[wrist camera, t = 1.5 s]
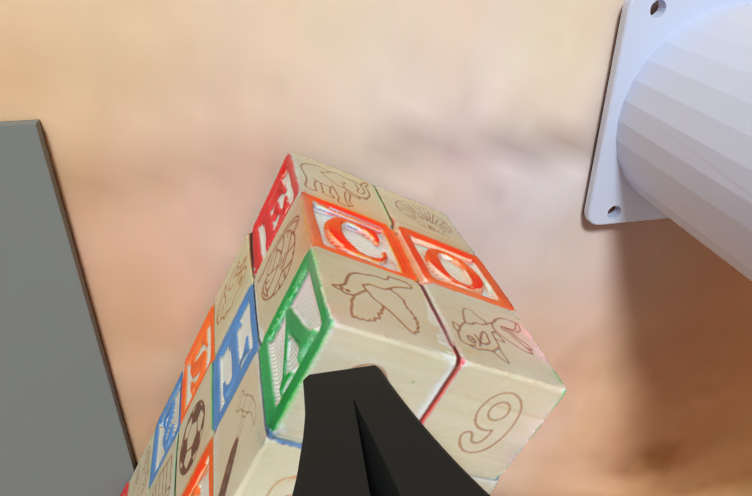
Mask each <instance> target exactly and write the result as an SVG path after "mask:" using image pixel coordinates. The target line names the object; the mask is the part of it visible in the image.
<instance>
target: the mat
mask: <svg viewBox="0 0 752 496" xmlns="http://www.w3.org/2000/svg"><path fill="white" fill-rule="evenodd" d="M135 469H136V464H135V460H134V457H133V453H132V449H131V446H130V442H129V439H128V435H127V432H126V428H125V424H124V421H123V417H122V414H121V410H120V407H119V403H118V399H117V396H116V392H115V389H114V385H113V382H112V378H111V375H110V371H109V367H108V364H107V360H106V357H105V353H104V350H103V346H102V342H101V339H100V335H99V332H98V328H97V325H96V321H95V317H94V314H93V310H92V307H91V303H90V300H89V296H88V292H87V289H86V285H85V282H84V278H83V275H82V271H81V267H80V264H79V260H78V257H77V253H76V250H75V246H74V242H73V239H72V235H71V232H70V228H69V225H68V221H67V218H66V214H65V210H64V207H63V203H62V200H61V196H60V193H59V189H58V185H57V182H56V178H55V175H54V171H53V168H52V164H51V160H50V157H49V153H48V150H47V146H46V143H45V139H44V135H43V132H42V128H41V125H40V121H39V120H23V121H6V122H0V496H120V495H121V493H122V491H123V489H124V487H125V485H126V483H127V482H129V481H130V480H131V478H132V476H133V474H134V471H135Z"/></svg>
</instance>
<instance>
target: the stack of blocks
mask: <svg viewBox="0 0 752 496" xmlns="http://www.w3.org/2000/svg"><path fill="white" fill-rule="evenodd" d="M514 312H515V309H514V307H513V306H512V304H511V303H510V301H509V300H508V298H507V297H506V296H505V294H504V293H503V291H502V290H501V289H500V287H499V286H498V284H497V283H496V282H495V280H494V279H493V277H492V276H491V275H490V273H489V272H488V270H487V269H486V268H485V266H484V265H483V264H482V262H481V261H480V260H479V259H478V258H477V257H476V256H475V254H474V252H473V251H472V249H471V248H470V247H469V245H468V244H467V243H466V241H465V240H464V239H463V237H462V236H461V234H460V233H459V232H458V231H457V229H456V228H455V226H454V225H453V224H452V222H451V221H450V220H449V218H448V217H447V216H446V215H445V214H444V213H441V212H439V211H436V210H433V209H431V208H429V207H426V206H424V205H422V204H419V203H417V202H414V201H411V200H409V199H406V198H404V197H402V196H399V195H397V194H395V193H392V192H390V191H387V190H385V189H383V188H380V187H377V186H373V185H372V184H370V183H369V182H367V181H365V180H362V179H360V178H358V177H355V176H353V175H351V174H348V173H346V172H344V171H341V170H338V169H336V168H333V167H331V166H328V165H326V164H323V163H320V162H318V161H315V160H313V159H310V158H307V157H304V156H301V155H298V154H295V153H288V154H287V156H286V158H285V160H284V162H283V164H282V167H281V169H280V171H279V173H278V175H277V178H276V180H275V182H274V184H273V186H272V188H271V190H270V193H269V195H268V197H267V199H266V201H265V203H264V206H263V208H262V209H261V211H260V214H259V216H258V219H257V221H256V222H255V224H254V226H253V231H252V233H249V234H248V235H246V237H245V239H244V241H243V243H242V245H241V247H240V249H239V251H238V253H237V256H236V258H235V260H234V262H233V264H232V266H231V268H230V270H229V272H228V274H227V276H226V279H225V281H224V283H223V285H222V287H221V289H220V291H219V293H218V295H217V298H216V301H215V304H214V305H213V306H212V307H211V309H210V311H209V313H208V315H207V317H206V319H205V321H204V323H203V325H202V327H201V330H200V332H199V334H198V336H197V338H196V340H195V342H194V344H193V346H192V348H191V350H190V352H189V354H188V356H187V358H186V360H185V362H184V366H183V371H182V373H181V375H180V377H179V379H178V381H177V384H176V386H175V388H174V390H173V392H172V394H171V396H170V398H169V400H168V402H167V404H166V406H165V408H164V410H163V412H162V414H161V416H160V418H159V420H158V422H157V426H156V429H155V431H154V432H153V434H152V436H151V438H150V440H149V442H148V444H147V446H146V449H145V451H144V453H143V455H142V457H141V459H140V461H139V463H138V465H137V467H136V469H135V471H134V474H133V476H132V478H131V480H130V481H129V482H127V483H126V485H125V487H124V489H123V491H122V493H121V495H120V496H292V494H293V490H294V486H295V481H296V477H297V472H298V466H299V460H300V453H301V447H302V440H303V433H304V422H305V404H304V389H303V380H304V379H305V378H306V377H307V376H308V375H310V374H316V373H323V372H330V371H337V370H344V369H351V368H358V367H365V366H372V365H376V366H377V367H378V368H380V369H381V370H382V372H383V373H384V375H385V376H386V378H387V379H388V381H389V382H390V383H391V385H392V386H393V388H394V389H395V390H396V392H397V393H398V394H399V396H400V397H401V398H402V400H403V401H404V402H405V403H406V405H407V406H408V407H409V408H410V410H411V411H412V412H413V413H414V415H415V416H416V417H417V418H418V419H419V421H420V422H421V423H422V424H423V425H424V427H425V428H426V429H427V430H428V431H429V432H430V433H431V435H432V436H433V437H434V438H435V439H436V440H437V441H438V442H439V444H440V445H441V446H442V447H443V448H444V449H445V450H446V451H447V453H448V454H449V455H450V456H451V457H452V458H453V459H454V460H455V461H456V462H457V463H458V464H459V465H460V466H461V467H462V468H463V469H464V470H465V471H466V472H467V473H468V474H469V475H470V476H471V477H472V478H473V479H474V480H475V481H476V482H477V483H478V484H479V485H480V486H481V487H482V488H483V489H484V490H485V491H486V492H487V493H488V494H490V493H491V492H492V490H493V489H494V488H495V486H496V485H497V483H498V481H499V476H500V475H501V474H503V473H504V471H505V470H506V469H507V468H508V466H509V465H510V464H511V462H512V461H513V460H514V459H515V457H516V456H517V455H518V454H519V452H520V451H521V450H522V448H523V447H524V446H525V444H526V443H527V442H528V441H529V439H530V438H531V437H532V436H533V435H534V434H535V433H536V431H537V430H538V429H539V428H540V426H541V425H542V423H543V422H544V420H545V419H546V417H547V416H548V415H549V414H550V412H551V411H552V410H553V409H554V408H555V406H556V405H557V404H558V403H559V401H560V400H561V399H562V398H563V396H564V394H565V392H566V387H565V386H564V384H563V383H562V381H561V380H560V378H559V377H558V375H557V374H556V372H555V371H554V370H553V368H552V367H551V365H550V364H549V362H548V361H547V359H546V358H545V356H544V355H543V353H542V352H541V350H540V349H539V347H538V346H537V345H536V343H535V342H534V340H533V339H532V337H531V336H530V334H529V333H528V331H527V330H526V328H525V327H524V325H523V324H522V323H521V322H520V320H519V318H518V317H517V316H516V315H515V314H514Z"/></svg>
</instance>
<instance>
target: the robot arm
mask: <svg viewBox="0 0 752 496" xmlns="http://www.w3.org/2000/svg"><path fill="white" fill-rule="evenodd" d="M655 1H657V0H625V2H624V5H623V8H622V13H621V18H620V23H619V29H618V34H617V39H616V45H615V50H614V55H613V61H612V66H611V71H610V77H609V82H608V87H607V92H606V98H605V103H604V108H603V114H602V119H601V124H600V130H599V135H598V140H597V146H596V151H595V156H594V161H593V167H592V172H591V177H590V183H589V188H588V193H587V199H586V204H585V209H584V215H585V217H586V219H587V220H588V221H589V222H590V223H592V224H594V225H605V224H615V223H625V222H635V221H645V220H655V219H665V218H670V219H671V220H672V221H674V222H675V223H676V224H677V225H679V226H680V227H681V228H683V229H684V230H685V231H687V232H688V233H689V234H690V235H692V236H693V237H694V238H696V239H697V240H698V241H700V242H701V243H702V244H703V245H705V246H706V247H707V248H709V249H710V250H711V251H713V252H714V253H715V254H716V255H718V256H719V257H720V258H722V259H723V260H724V261H725V262H727V263H728V264H729V265H731V266H732V267H733V268H735V269H736V270H737V271H738V272H740V273H741V274H742V275H744V276H745V277H746V278H748V279H749V280H750V281H751V282H752V0H658V1H659V7H658V9H657V11H656V12H655V13H654V14H652V15H651V14H650V9H651V6H652V4H653V3H654V2H655ZM613 206H615V209H614V210H613V211H612V212H611V213H609V214H608V211H609V209H610V208H611V207H613ZM303 389H304V404H305V422H304V433H303V440H302V447H301V453H300V460H299V466H298V472H297V477H296V481H295V486H294V490H293V494H292V496H490V495H489V494H488V493H487V492H486V491H485V490H484V489H483V488H482V487H481V486H480V485H479V484H478V483H477V482H476V481H475V480H474V479H473V478H472V477H471V476H470V475H469V474H468V473H467V472H466V471H465V470H464V469H463V468H462V467H461V466H460V465H459V464H458V463H457V462H456V461H455V460H454V459H453V458H452V457H451V456H450V455H449V454H448V453H447V451H446V450H445V449H444V448H443V447H442V446H441V445H440V444H439V442H438V441H437V440H436V439H435V438H434V437H433V436H432V435H431V433H430V432H429V431H428V430H427V429H426V428H425V427H424V425H423V424H422V423H421V422H420V421H419V419H418V418H417V417H416V416H415V415H414V413H413V412H412V411H411V410H410V408H409V407H408V406H407V405H406V403H405V402H404V401H403V400H402V398H401V397H400V396H399V394H398V393H397V392H396V390H395V389H394V388H393V386H392V385H391V383H390V382H389V381H388V379H387V378H386V376H385V375H384V373H383V372H382V370H381V369H380V368H378V367H377V366H376V365H372V366H365V367H358V368H351V369H344V370H337V371H330V372H323V373H316V374H310V375H308V376H307V377H306V378H305V379H304V380H303Z"/></svg>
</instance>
